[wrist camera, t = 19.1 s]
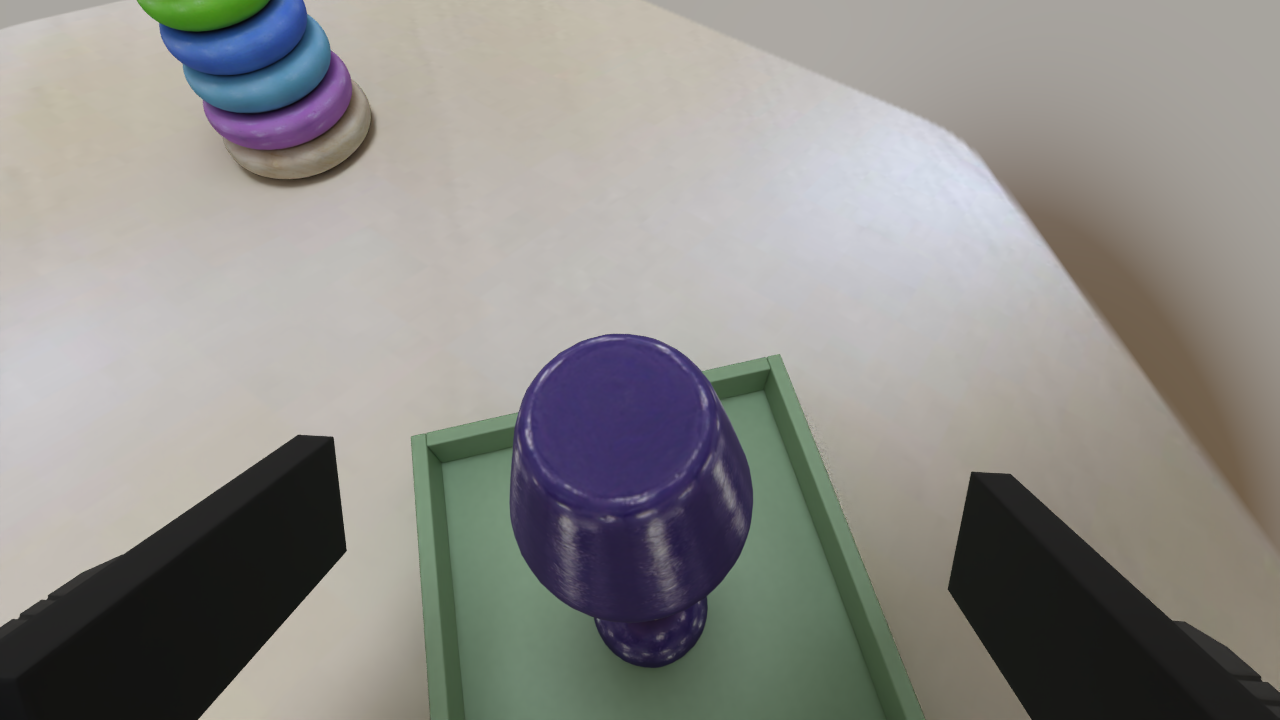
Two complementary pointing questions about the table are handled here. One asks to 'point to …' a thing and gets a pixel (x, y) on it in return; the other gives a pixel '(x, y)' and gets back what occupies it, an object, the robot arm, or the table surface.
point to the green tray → (737, 608)
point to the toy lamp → (629, 492)
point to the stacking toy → (266, 82)
